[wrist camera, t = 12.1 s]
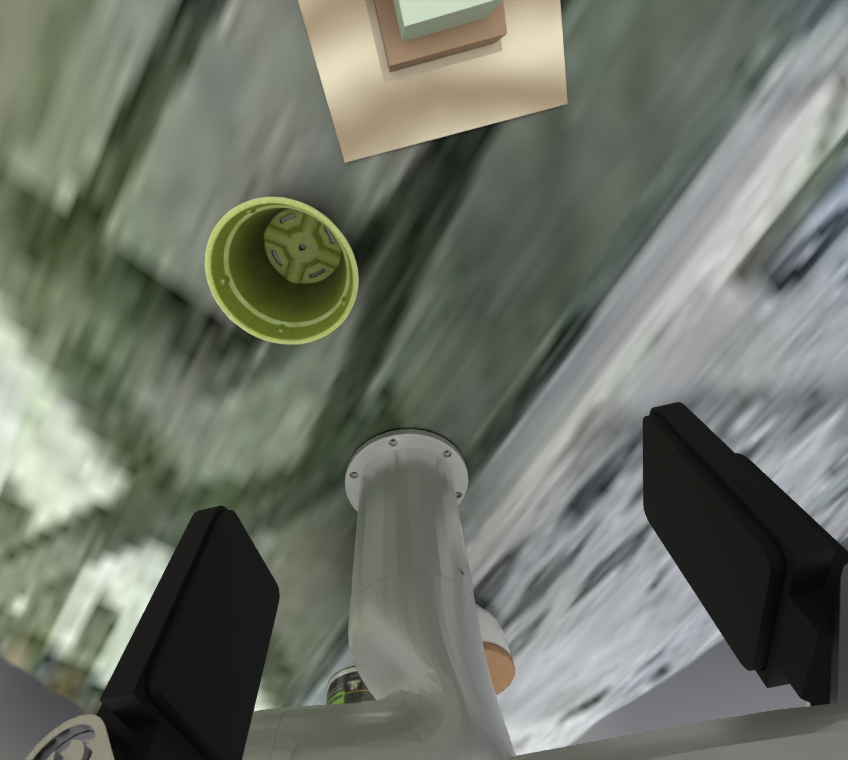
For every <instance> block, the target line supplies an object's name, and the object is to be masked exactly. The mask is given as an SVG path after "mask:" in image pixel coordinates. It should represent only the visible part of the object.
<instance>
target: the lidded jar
mask: <svg viewBox="0 0 848 760" xmlns="http://www.w3.org/2000/svg"><path fill="white" fill-rule="evenodd" d="M475 604H476V603H475ZM476 609H477V615H478V620H479V626H480V631H481V636H482V641H483V646H484V651H485V656H486V660H487V664H488V669H489V673H490V677H491V681H492V684H493V688H494V691H495V695H497V694H499V693H501V692H502V691H504V690H505V689H506V688H507V687H508V686H509V685H510V683H511V682H512V680H513V678H514V675H515V667H514V663H513V659H512V657H511V654H510V650H509V646H508V643H507V640H506V637H505V634H504V632H503V630H502V628H501V626H500V624H499V623H498V622H497V620H496V619H495V618H494V617H493V616H492V615H491V614H490V613H489V612H488V611H486V610H485V609H483V608H481V607H480V606H479V605H478V604H476Z"/></svg>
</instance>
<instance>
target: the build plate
mask: <svg viewBox="0 0 848 760" xmlns="http://www.w3.org/2000/svg"><path fill="white" fill-rule="evenodd" d="M298 2H299V5H300V9H301V12H302V16H303V19H304V23H305V26H306V30H307V33H308V36H309V40H310V43H311V47H312V50H313V54H314V57H315V61H316V64H317V68H318V71H319V75H320V78H321V82H322V85H323V89H324V92H325V96H326V99H327V103H328V106H329V109H330V113H331V116H332V120H333V123H334V127H335V130H336V134H337V137H338V141H339V144H340V148H341V151H342V155H343V158H344V162H345V163H346V162H350V161H354V160H357V159H361V158H365V157H369V156H372V155H376V154H380V153H384V152H388V151H391V150H395V149H399V148H403V147H406V146H410V145H414V144H418V143H422V142H425V141H429V140H433V139H437V138H440V137H444V136H448V135H452V134H456V133H459V132H463V131H467V130H471V129H475V128H478V127H482V126H486V125H490V124H493V123H497V122H501V121H505V120H509V119H512V118H516V117H520V116H524V115H527V114H531V113H535V112H539V111H543V110H546V109H550V108H554V107H558V106H561V105H565V104H568V103H567V89H566V75H565V62H564V48H563V34H562V20H561V6H560V0H503V3H504V11H505V19H506V28H507V34H506V35H505V36H503V37H502V38H501V39H499V40H498V41H497V42H496V43H494V44H491V45H488V46H484V47H480V48H477V49H473V50H469V51H466V52H462V53H459V54H455V55H451V56H448V57H444V58H440V59H437V60H433V61H429V62H426V63H422V64H418V65H415V66H411V67H407V68H404V69H400V70H396V71H393V72H389V68H388V63H387V59H386V54H385V50H384V46H383V41H382V37H381V32H380V28H379V23H378V19H377V15H376V10H375V6H374V1H373V0H298Z"/></svg>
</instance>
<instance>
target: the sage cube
mask: <svg viewBox="0 0 848 760" xmlns="http://www.w3.org/2000/svg"><path fill="white" fill-rule="evenodd" d="M502 1H503V0H393V3H394V7H395V12H396V16H397V21H398V25H399V30H400V35H401V39H402V42H405V41H408V40H411V39H415V38H418V37H422V36H425V35H429V34H432V33H435V32H439V31H442V30H446V29H449V28H453V27H456V26H459V25H463V24H466V23H470V22H473V21H477V20H480V19H483V18H487V17H488V16H489V15H490V14H491V13H492V12H493V11H494V10H495V9H496V7H497V6H498V5H499V4H500V3H501V2H502Z"/></svg>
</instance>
